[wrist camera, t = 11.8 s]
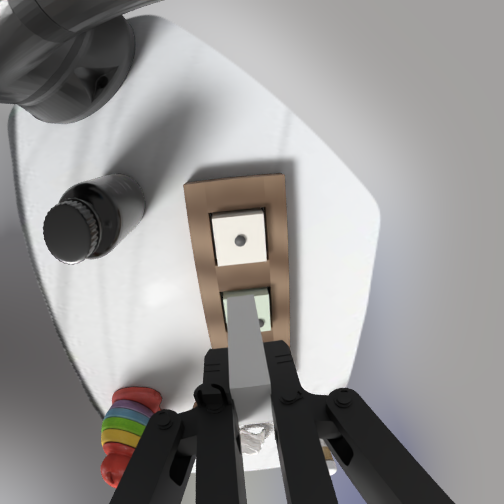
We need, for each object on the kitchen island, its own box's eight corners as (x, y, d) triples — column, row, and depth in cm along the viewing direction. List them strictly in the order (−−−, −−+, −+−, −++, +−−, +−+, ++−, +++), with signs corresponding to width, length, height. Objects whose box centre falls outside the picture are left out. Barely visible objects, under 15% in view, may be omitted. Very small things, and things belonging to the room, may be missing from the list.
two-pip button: (223, 286, 33) (223, 300, 30) (265, 281, 33) (269, 295, 30) (228, 320, 34) (228, 336, 31) (267, 316, 35) (271, 331, 32)
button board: (186, 182, 28) (183, 185, 26) (280, 172, 28) (284, 174, 27) (222, 385, 39) (222, 394, 37) (287, 377, 40) (289, 386, 38)
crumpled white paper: (262, 439, 48) (267, 457, 44) (231, 443, 47) (234, 462, 43) (265, 422, 45) (270, 443, 40) (229, 427, 44) (233, 448, 39)
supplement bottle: (139, 239, 30) (97, 290, 19) (88, 222, 28) (31, 262, 17) (154, 181, 28) (110, 204, 16) (100, 165, 26) (37, 180, 15)
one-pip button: (213, 212, 29) (211, 219, 26) (259, 207, 29) (263, 214, 27) (218, 255, 31) (218, 267, 28) (263, 250, 31) (267, 261, 28)
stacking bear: (170, 422, 43) (162, 504, 26) (121, 417, 42) (103, 492, 25) (159, 387, 39) (142, 483, 22) (104, 381, 38) (74, 467, 21)
